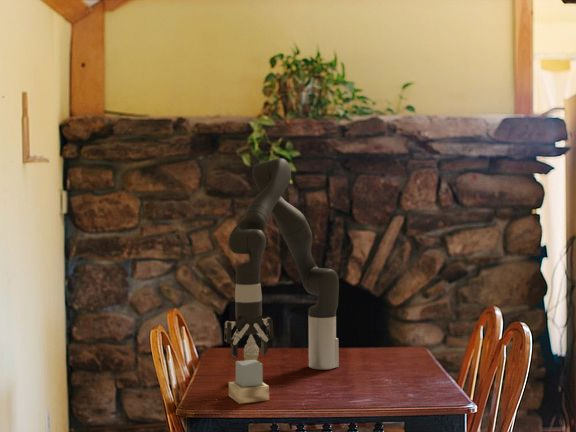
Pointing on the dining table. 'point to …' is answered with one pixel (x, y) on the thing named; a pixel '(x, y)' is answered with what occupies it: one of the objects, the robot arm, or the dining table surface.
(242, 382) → the cube
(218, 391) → the dining table surface
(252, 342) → the ice cream cone
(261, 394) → the base
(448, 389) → the dining table surface
